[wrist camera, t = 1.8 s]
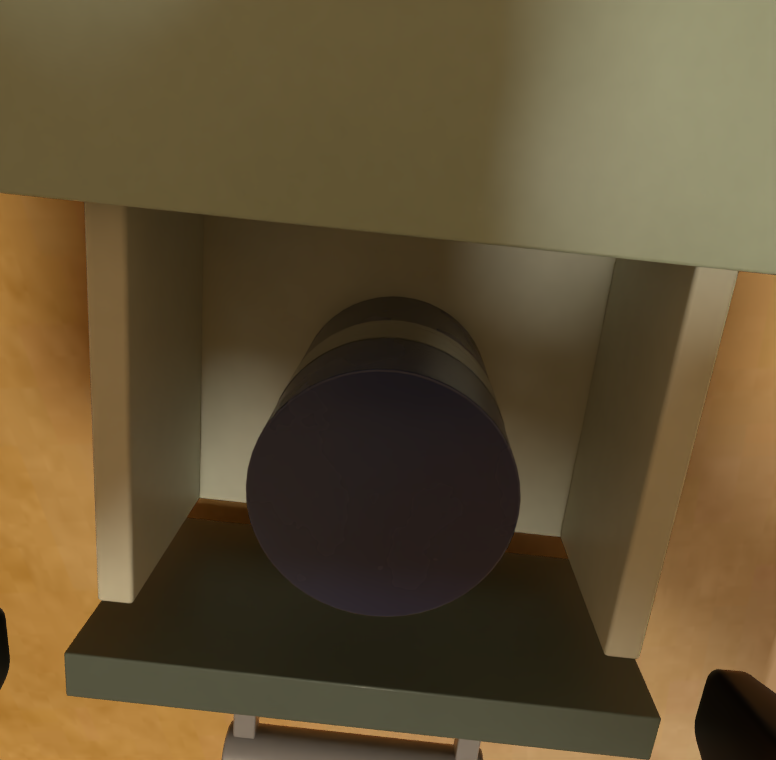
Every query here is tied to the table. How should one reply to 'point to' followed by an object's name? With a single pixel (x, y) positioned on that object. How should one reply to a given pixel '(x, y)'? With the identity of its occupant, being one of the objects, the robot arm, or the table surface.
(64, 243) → the table surface
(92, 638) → the drawer
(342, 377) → the can
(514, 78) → the pale olive box
